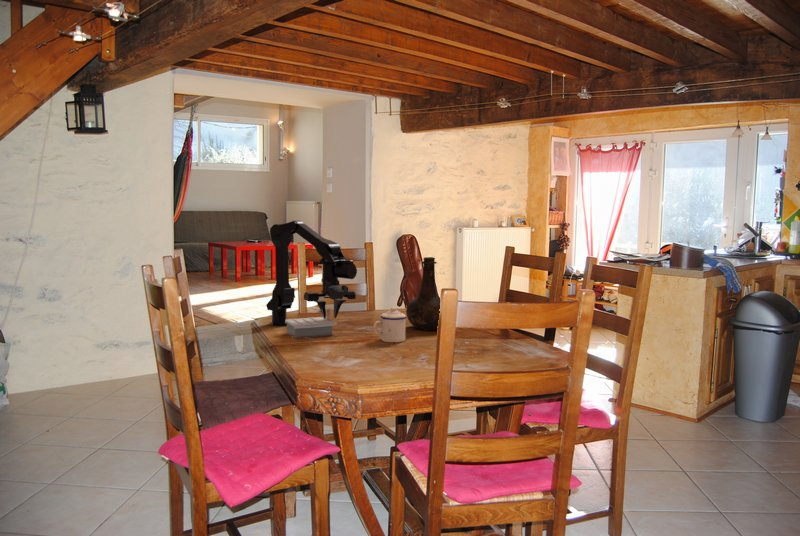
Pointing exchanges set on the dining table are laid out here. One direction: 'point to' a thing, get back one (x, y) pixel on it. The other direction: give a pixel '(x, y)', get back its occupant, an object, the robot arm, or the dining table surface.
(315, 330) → the tub
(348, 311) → the dining table surface
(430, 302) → the glass bottle
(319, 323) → the lid
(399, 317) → the teacup with lid
